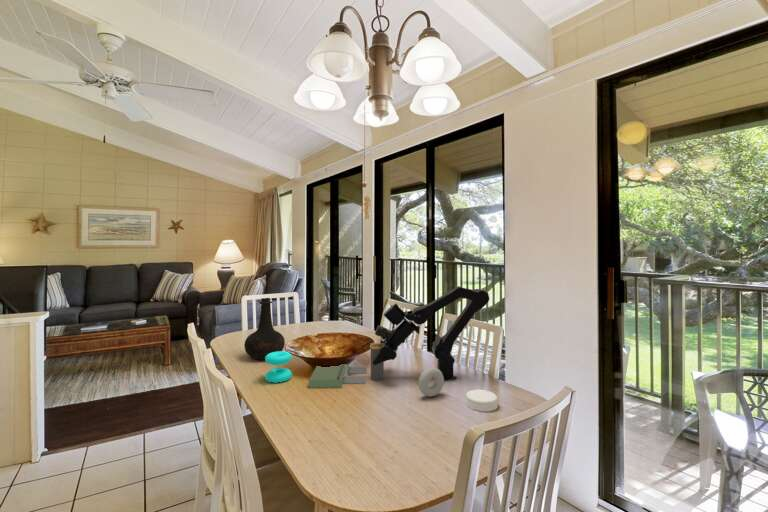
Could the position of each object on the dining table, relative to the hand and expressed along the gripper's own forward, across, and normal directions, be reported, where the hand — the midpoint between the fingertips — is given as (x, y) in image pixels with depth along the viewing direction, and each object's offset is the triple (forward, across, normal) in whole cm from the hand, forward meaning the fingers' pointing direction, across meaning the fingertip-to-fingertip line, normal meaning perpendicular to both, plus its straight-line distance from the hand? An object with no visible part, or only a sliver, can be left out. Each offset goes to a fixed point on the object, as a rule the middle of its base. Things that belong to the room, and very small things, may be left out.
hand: (373, 361), depth 143 cm
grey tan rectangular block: (+4, 0, +6) cm, 7 cm away
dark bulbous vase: (+42, -28, -32) cm, 59 cm away
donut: (-10, +18, +19) cm, 28 cm away
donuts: (+31, +1, -22) cm, 38 cm away
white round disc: (-20, +25, +30) cm, 44 cm away
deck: (+14, 0, -5) cm, 15 cm away
